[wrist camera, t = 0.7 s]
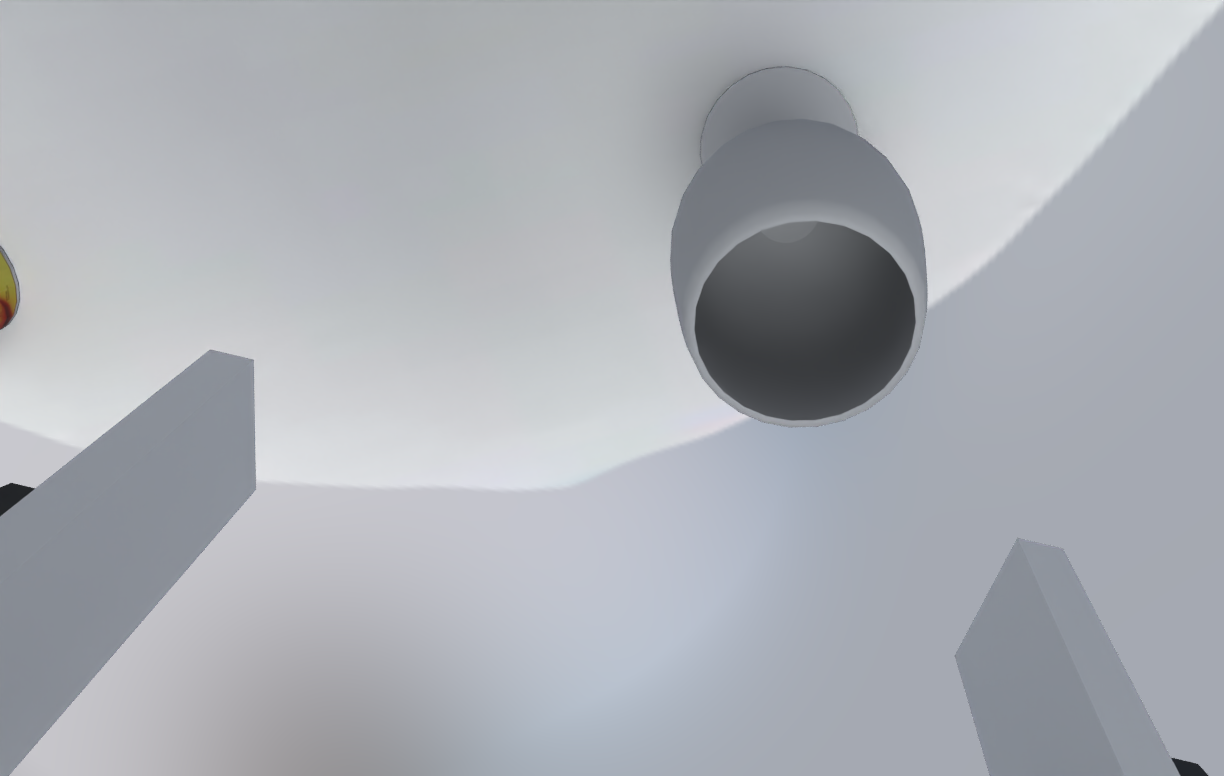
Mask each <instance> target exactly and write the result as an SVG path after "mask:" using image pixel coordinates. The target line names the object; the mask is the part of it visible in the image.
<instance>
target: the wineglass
mask: <svg viewBox="0 0 1224 776" xmlns="http://www.w3.org/2000/svg"><path fill="white" fill-rule="evenodd" d="M700 157H701V162H702V166H701V167H700V169H699V170H698V171H697V173H696V174H695V176H694V178H693V179H692V181H691V183H690V184H689V186H688V188H687V189H686V191H685V193H684V194H683V197H682V200H681V203H680V206H679V209H678V213H677V216H676V219H675V222H674V226H673V229H672V238H671V257H670V262H671V277H672V285H673V291H674V297H675V302H676V307H677V312H678V317H679V321H680V325H681V329H682V333H683V336H684V339H685V342H686V345H687V348H688V350H689V352H690V354H691V356H692V358H693V360H694V362H695V364H696V366H697V368H698V370H699V372H700V375H701V377H702V378H703V379H704V381H705V382H706V383H707V384H708V385H709V387H710V388H711V389H712V390H713V391H714V392H715V394H716V395H717V396H718V397H719V398H720V399H722V400H723V401H725V402H726V403H727V404H729V405H730V406H732V407H733V408H734V409H736V410H737V411H738V412H740V413H743V414H745V415H747V416H750V417H752V418H754V419H757V420H759V421H762V422H764V423H770V424H774V425H780V426H785V427H818V426H823V425H827V424H832V423H836V422H840V421H844V420H846V419H848V418H850V417H853V416H855V415H857V414H859V413H861V412H864V411H866V410H868V409H869V408H871V407H872V406H873V405H875V404H876V403H877V402H879V401H880V400H881V399H883V398H884V397H885V396H887V395H888V394H889V393H890V392H891V391H892V390H893V389H894V388H895V387H896V385H897V384H898V383H899V382H900V381H901V379H902V378H903V377H904V376H905V375H906V373H907V372H908V370H909V368H910V366H911V364H912V362H913V360H914V358H915V356H916V354H917V352H918V350H919V348H920V343H921V338H922V333H923V328H924V323H925V318H926V312H927V272H926V258H925V248H924V240H923V234H922V228H921V224H920V220H919V217H918V214H917V211H916V208H915V205H914V203H913V200H912V197H911V194H910V191H909V189H908V187H907V186H906V185H905V183H904V182H903V180H902V179H901V177H900V176H899V175H898V173H897V172H896V170H895V169H894V167H893V166H892V165H891V163H890V162H889V160H888V159H887V157H885V156H884V155H883V154H882V153H880V152H879V151H878V150H877V149H876V148H874V147H873V146H872V145H871V144H870V143H868V142H867V141H866V140H865V139H863V138H862V137H860V136H858V132H857V124H856V121H855V118H854V116H853V113H852V110H851V107H850V105H849V104H848V103H847V101H846V100H845V98H844V97H843V96H842V94H841V93H840V91H839V90H838V89H837V88H836V87H834V86H833V85H832V84H831V83H830V82H828V81H827V80H826V79H825V78H823V77H821V76H819V75H817V74H814V73H812V72H810V71H808V70H804V69H799V68H793V67H776V68H766V69H763V70H761V71H758V72H755V73H752V74H749V75H747V76H745V77H744V78H742V79H741V80H739V81H738V82H736V83H735V84H733V85H731V86H730V87H729V88H728V90H727V91H726V92H725V93H724V94H723V95H722V96H721V97H720V98H719V99H718V100H717V102H716V103H715V105H714V107H713V108H712V110H711V112H710V113H709V115H708V117H707V120H706V123H705V126H704V129H703V133H702V136H701V151H700Z"/></svg>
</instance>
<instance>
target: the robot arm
mask: <svg viewBox="0 0 1224 776" xmlns="http://www.w3.org/2000/svg"><path fill="white" fill-rule="evenodd" d="M255 490H256V469H255V411H254V360H252V359H248V358H244V357H240V356H235V355H231V354H227V353H222V352H218V351H214V350H209V351H208V352H207V353H205V354H204V355H203V356H202V357H200V358H199V359H198V360H197V361H195V362H194V363H193V364H191V365H190V366H189V367H188V368H186V369H185V370H184V371H183V372H181V373H180V374H179V375H178V376H176V377H175V378H174V379H173V380H171V381H170V382H169V383H168V384H166V385H165V386H164V387H163V388H161V389H160V390H159V391H158V392H156V393H155V394H154V395H152V396H151V397H150V398H149V399H147V400H146V401H145V402H144V403H142V404H141V405H140V406H139V407H137V408H136V409H135V410H134V411H132V412H131V413H130V414H129V415H127V416H126V417H125V418H124V419H122V420H121V421H120V422H119V423H117V424H116V425H115V426H113V427H112V428H111V429H110V430H108V431H107V432H106V433H105V434H103V435H102V436H101V437H100V438H98V439H97V440H96V441H95V442H93V443H92V444H91V445H90V446H88V447H87V448H86V449H85V450H83V451H82V452H81V453H80V454H78V455H77V456H76V457H75V458H73V459H72V460H71V461H69V462H68V463H67V464H66V465H64V466H63V467H62V468H61V469H59V470H58V471H57V472H56V473H54V474H53V475H52V476H51V477H49V478H48V479H47V480H46V481H44V482H43V483H42V484H41V485H40V486H38V487H37V488H31V487H26V486H22V485H18V484H13V483H10V484H8V485H5V486H3V487H0V776H9V775H10V774H11V773H12V771H13V770H14V769H15V768H16V767H17V765H18V764H19V763H20V762H21V761H22V760H23V759H24V758H25V756H26V755H27V754H28V753H29V752H30V751H31V749H32V748H33V747H34V746H35V745H36V744H37V743H38V741H39V740H40V739H41V738H42V737H43V736H44V734H45V733H46V732H47V731H48V730H49V729H50V727H51V726H52V725H53V724H54V723H55V722H56V721H57V719H58V718H59V717H60V716H61V715H62V714H63V712H64V711H65V710H66V709H67V708H68V707H69V705H70V704H71V703H72V702H73V701H74V700H75V698H76V697H77V696H78V695H79V694H80V693H81V692H82V690H83V689H84V688H85V687H86V686H87V684H88V683H89V682H90V681H91V680H92V679H93V678H94V677H95V675H96V674H97V673H98V672H99V671H100V670H101V668H102V667H103V666H104V665H105V664H106V663H107V661H108V660H109V659H110V658H111V657H112V656H113V655H114V653H115V652H116V651H117V650H118V649H119V648H120V646H121V645H122V644H123V643H124V642H125V641H126V639H127V638H128V637H129V636H130V635H131V634H132V632H133V631H134V630H135V629H136V628H137V627H138V625H139V624H140V623H141V622H142V621H143V620H144V619H145V617H146V616H147V615H148V614H149V613H150V612H151V611H152V609H153V608H154V607H155V606H156V605H157V604H158V602H159V601H160V600H161V599H162V598H163V597H164V595H165V594H166V593H167V592H168V591H169V590H170V589H171V587H172V586H173V585H174V584H175V583H176V582H177V580H178V579H179V578H180V577H181V576H182V575H183V573H184V572H185V571H186V570H187V569H188V568H189V567H190V565H191V564H192V563H193V562H194V561H195V560H196V558H197V557H198V556H199V555H200V554H201V553H202V552H203V550H204V549H205V548H206V547H207V546H208V544H209V543H210V542H211V541H212V540H213V539H214V538H215V536H216V535H217V534H218V533H219V532H220V531H221V530H222V528H223V527H224V526H225V525H226V524H227V523H228V521H229V520H230V519H231V518H232V517H233V515H234V514H235V513H236V512H237V511H238V510H239V508H241V506H242V505H243V504H244V503H245V502H246V501H247V499H248V498H249V497H250V496H251V495H252V494H253V492H254V491H255ZM955 658H956V662H957V665H958V668H959V672H960V675H961V679H962V682H963V686H964V689H965V692H966V696H967V699H968V703H969V706H970V709H971V713H972V716H973V720H974V723H975V727H976V730H977V734H978V737H979V741H980V744H981V747H982V750H983V754H984V757H985V761H986V765H987V768H988V771H989V775H990V776H1208V775H1207V774H1206V773H1205V771H1204V770H1203V769H1202V768H1201V767H1200V766H1199V765H1198V764H1196V763H1191V762H1187V761H1183V760H1179V759H1175V758H1171V757H1170V755H1169V753H1168V751H1167V749H1166V747H1165V745H1164V743H1163V741H1162V739H1161V737H1160V735H1159V733H1158V731H1157V730H1156V728H1155V726H1154V724H1153V722H1152V720H1151V718H1150V716H1149V714H1148V712H1147V710H1146V708H1145V706H1144V704H1143V702H1142V700H1141V699H1140V697H1139V695H1138V693H1137V691H1136V689H1135V687H1134V685H1133V683H1132V681H1131V679H1130V677H1129V676H1128V673H1127V672H1126V669H1125V668H1124V666H1123V664H1122V662H1121V660H1120V658H1119V656H1118V654H1117V652H1116V650H1115V648H1114V646H1113V644H1112V643H1111V640H1110V638H1109V637H1108V635H1107V633H1106V631H1105V629H1104V627H1103V625H1102V623H1101V621H1100V619H1099V617H1098V615H1097V614H1096V611H1095V609H1094V607H1093V606H1092V604H1091V602H1090V600H1089V598H1088V596H1087V594H1086V592H1085V590H1084V588H1083V586H1082V584H1081V582H1080V580H1079V578H1078V576H1077V575H1076V573H1075V571H1074V569H1073V567H1072V565H1071V563H1070V561H1069V559H1068V557H1067V555H1066V553H1065V551H1064V549H1063V548H1059V547H1054V546H1050V545H1046V544H1041V543H1037V542H1032V541H1028V540H1024V539H1020V538H1017V540H1016V541H1015V543H1014V545H1013V547H1012V549H1011V551H1010V553H1009V555H1008V557H1007V559H1006V560H1005V562H1004V564H1003V566H1002V568H1001V570H1000V572H999V574H998V575H997V577H996V579H995V581H994V583H993V585H992V587H991V588H990V590H989V592H988V594H987V596H986V598H985V600H984V602H983V603H982V605H981V607H980V609H979V611H978V613H977V615H976V617H975V618H974V620H973V622H972V624H971V626H970V628H969V630H968V632H967V633H966V636H965V637H964V639H963V641H962V643H961V645H960V647H959V649H958V650H957V652H956V654H955Z"/></svg>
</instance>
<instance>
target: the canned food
mask: <svg viewBox="0 0 1224 776" xmlns="http://www.w3.org/2000/svg"><path fill="white" fill-rule="evenodd" d="M19 300H20V298H19V285H18V281H17V278H16V275H15V272H14V269H13V266H12V264H11V263H10V261H9V259H8V257H7V256H6V254H5V252H4V250H3V249H2V248H1V247H0V330H1V329H3V328H4V327H6V326H7V325H9V323H10V322H11V321H12V319H13V318H14V316H15V315H16V313H17V308H18V304H19Z"/></svg>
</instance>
